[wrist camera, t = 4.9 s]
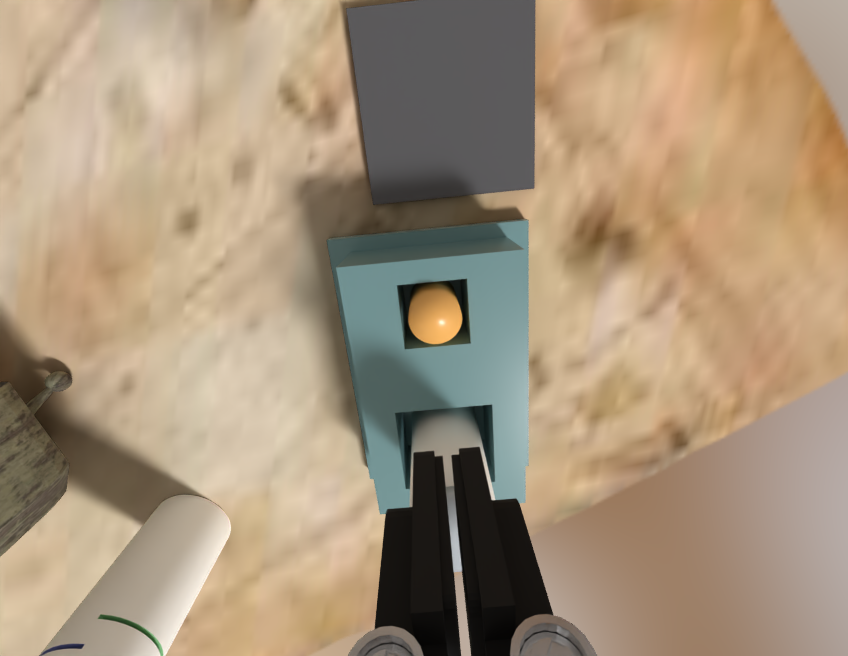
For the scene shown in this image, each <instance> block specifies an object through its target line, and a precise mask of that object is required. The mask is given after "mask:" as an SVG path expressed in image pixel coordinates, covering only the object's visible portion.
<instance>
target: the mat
mask: <svg viewBox="0 0 848 656" xmlns="http://www.w3.org/2000/svg"><path fill="white" fill-rule="evenodd" d="M346 10H347V17H348V24H349V32H350V39H351V46H352V54H353V61H354V68H355V76H356V83H357V90H358V98H359V105H360V112H361V120H362V127H363V134H364V142H365V149H366V156H367V164H368V171H369V178H370V186H371V193H372V200H373V205H375V204H385V203H395V202H405V201H415V200H425V199H435V198H445V197H454V196H464V195H474V194H484V193H494V192H504V191H514V190H524V189H534V151H535V0H416V1H407V2H398V3H390V4H381V5H372V6H364V7H355V8H346Z"/></svg>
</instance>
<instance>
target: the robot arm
mask: <svg viewBox="0 0 848 656" xmlns="http://www.w3.org/2000/svg"><path fill="white" fill-rule="evenodd" d="M451 458H452V470H453V481H454V493H455V504H456V516H457V527H458V538H459V548H460V557H461V566H462V575H463V584H464V592H465V602H466V611H467V620H468V630H469V639H470V648H471V656H597V654H596V652H595V650H594V648H593V647H592V645H591V644H590V642H589V641H588V639H587V638H586V636H585V635H584V634H583V633H582V632H581V631H580V630H579V629H578V628H577V627H575V626H574V625H573V624H572V623H570V622H568V621H566V620H565V619H563V618H561V617H558V616H554V615H553V612H552V609H551V606H550V602H549V599H548V596H547V593H546V590H545V586H544V583H543V579H542V576H541V573H540V570H539V567H538V563H537V560H536V557H535V553H534V550H533V547H532V543H531V540H530V537H529V534H528V530H527V527H526V524H525V520H524V517H523V514H522V511H521V507H520V505H519V502H518V500H517V498H514V499H502V500H492V499H491V495H490V490H489V486H488V481H487V477H486V473H485V468H484V464H483V459H482V455H481V450H480V447H470V448H459V454H456V455H451ZM348 656H461V650H460V638H459V627H458V615H457V605H456V593H455V581H454V570H453V559H452V547H451V536H450V526H449V516H448V505H447V495H446V484H445V474H444V464H443V456H435V453H434V451H424V452H414V453H413V500H412V507H406V508H394V509H387V511H386V517H385V527H384V537H383V548H382V558H381V568H380V579H379V589H378V600H377V610H376V620H375V629H374V630H372V631H370V632H368V633H367V634H365V635H364V636H363V637H362V638H361V639H359V640H358V641H357V643H356V644H355V645H354V647H353V648H352V650H351V651H350V652H349V654H348Z"/></svg>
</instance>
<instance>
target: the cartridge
mask: <svg viewBox="0 0 848 656" xmlns="http://www.w3.org/2000/svg"><path fill="white" fill-rule="evenodd" d="M470 447H480V450H481V455H482V459H483V464H484V468H485V473H486V477H487V481H488V486H489V490H490V495H491V499H492V500H495V496H494V492H493V488H492V483H491V479H490V475H489V470H488V466H487V462H486V457H485V453H484V449H483V444H482V440H481V436H480V431H479V427H478V423H477V418H476V414H475V410H474V406H469V407H458V408H446V409H435V410H423V411H413V418H412V447H411V477H410V507H412V500H413V453H414V452H424V451H434V453H435V456H443V464H444V474H445V484H446V495H447V505H448V516H449V526H450V536H451V547H452V559H453V570H454V572H461V571H462V566H461V557H460V548H459V538H458V527H457V516H456V504H455V493H454V481H453V470H452V458H451V455H456V454H459V448H470Z"/></svg>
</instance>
